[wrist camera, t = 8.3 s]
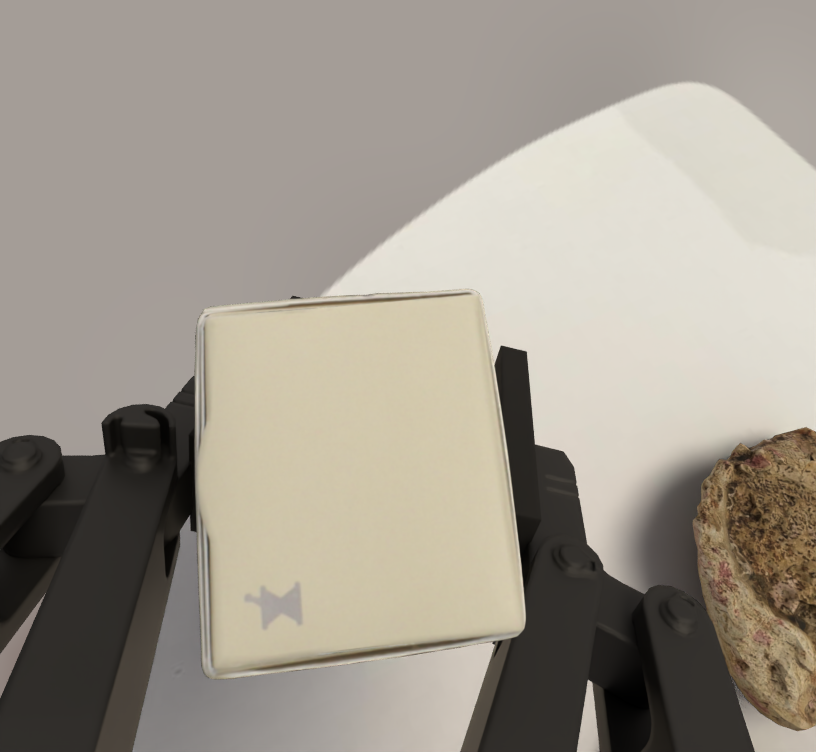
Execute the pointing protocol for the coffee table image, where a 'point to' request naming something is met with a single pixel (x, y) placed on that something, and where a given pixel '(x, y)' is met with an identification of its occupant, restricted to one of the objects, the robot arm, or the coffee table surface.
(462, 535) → the box
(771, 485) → the tan rough lump
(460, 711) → the coffee table surface
